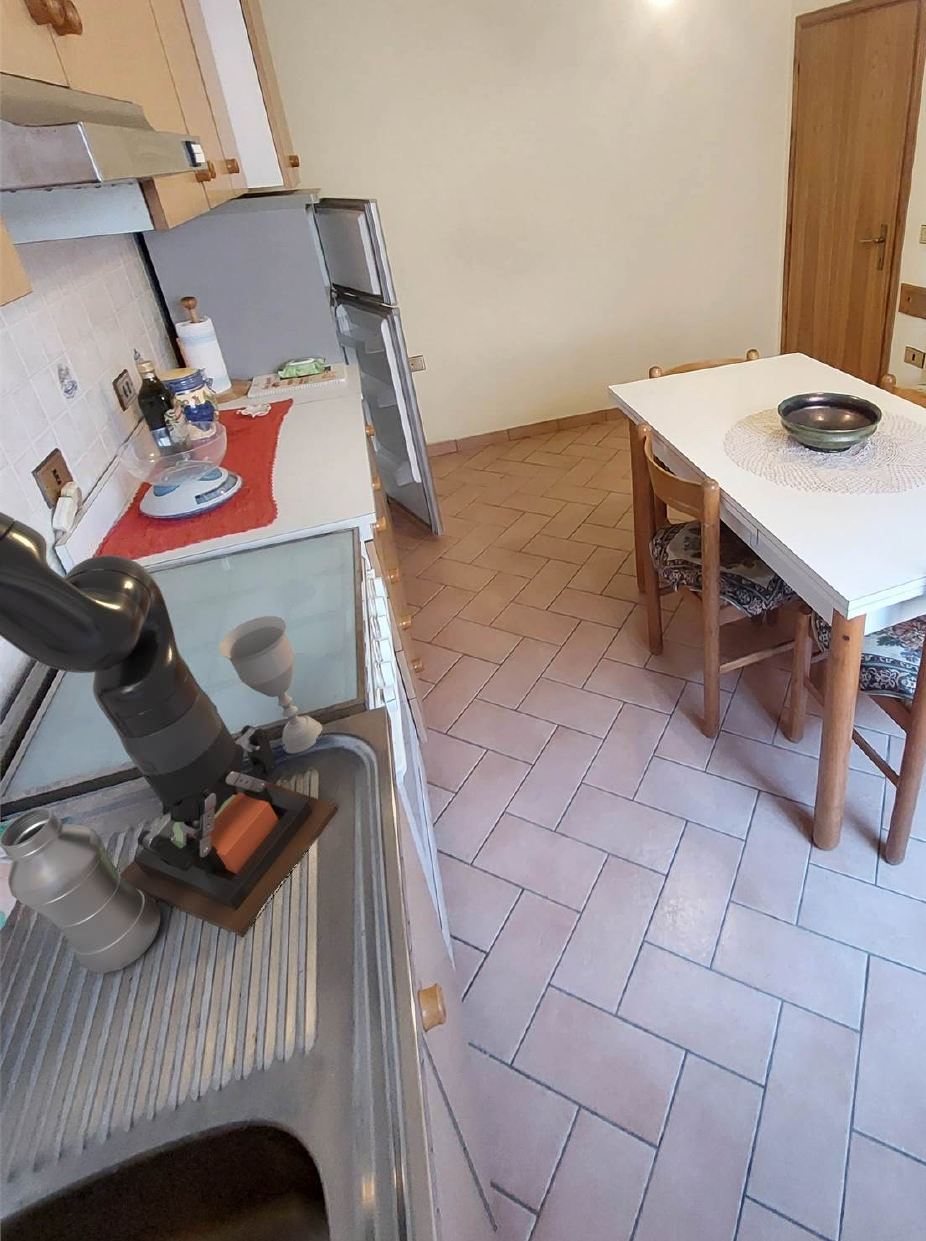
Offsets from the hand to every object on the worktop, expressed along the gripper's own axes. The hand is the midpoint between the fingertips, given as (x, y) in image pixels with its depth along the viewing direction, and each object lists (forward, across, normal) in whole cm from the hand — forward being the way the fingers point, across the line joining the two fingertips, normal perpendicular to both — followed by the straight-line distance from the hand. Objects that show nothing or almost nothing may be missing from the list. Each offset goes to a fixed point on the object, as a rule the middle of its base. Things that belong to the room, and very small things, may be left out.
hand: (241, 838), depth 74 cm
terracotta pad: (+1, 0, 0) cm, 1 cm away
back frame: (+3, 0, -3) cm, 4 cm away
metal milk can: (+3, +11, -5) cm, 12 cm away
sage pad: (+2, 0, -5) cm, 5 cm away
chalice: (+3, -14, -6) cm, 15 cm away
